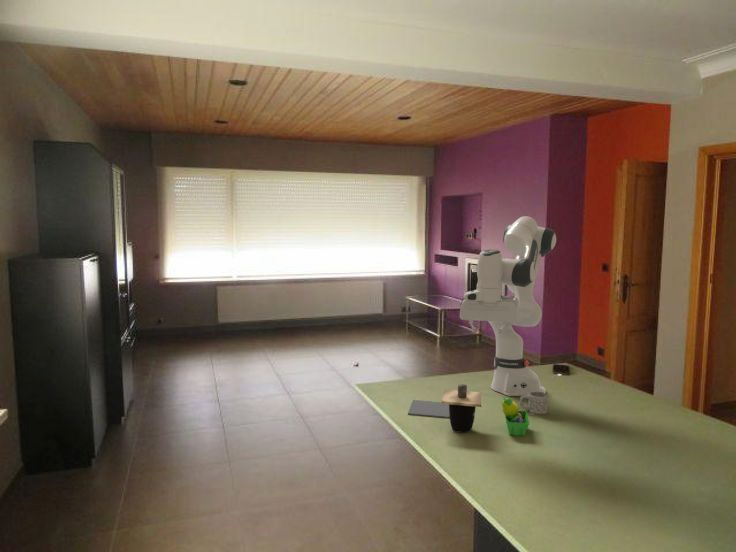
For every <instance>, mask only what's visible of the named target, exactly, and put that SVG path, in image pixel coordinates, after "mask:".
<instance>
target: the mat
mask: <svg viewBox="0 0 736 552" xmlns="http://www.w3.org/2000/svg"><path fill="white" fill-rule="evenodd" d="M407 415H410V416H419V417H421V416H422V417H423V416H424V417H430V418H431V417H433V418H443V419H450V415H449V404H442V401H430V400H420V399H417V400H416V399H412V402H411V404H410V407H409V409H408V411H407Z"/></svg>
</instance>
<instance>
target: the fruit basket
mask: <svg viewBox="0 0 736 552" xmlns="http://www.w3.org/2000/svg"><path fill="white" fill-rule="evenodd" d="M501 402H502V403H501V405H502V412H503V415H504V416H505V423H506V426H507V427H506V428H507V430H508V435H509V436H511V435H512V436H521V437H525V436H526V433H527V430H528V427H529V426H530V419H529V414H528V412H527V411H525V410H520V406H519V404H517V403H516V402H514V401H513V400H512V399H511V398H509V397H504V398H503V400H502V401H501Z"/></svg>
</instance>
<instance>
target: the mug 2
mask: <svg viewBox="0 0 736 552" xmlns="http://www.w3.org/2000/svg"><path fill="white" fill-rule="evenodd" d="M519 397H520V398H519V408H521V409H524V410H527V411H528V412H529V413H531V414H534V415H546V414H547V410H548V394H547V393H546V394H545V393H543V392H536V391H534V392H529V395H526V396H519ZM524 399H527V400H528V402H527V403H528V405H523V401H524Z"/></svg>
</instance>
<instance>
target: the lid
mask: <svg viewBox="0 0 736 552" xmlns="http://www.w3.org/2000/svg"><path fill="white" fill-rule="evenodd" d="M441 402H442V404H452V405H464V406H475V407H476V408H477V407H478V408H482V392H481V391H479V392H478V391H471V390H468V385H467V384H466V383H465V384H464V383H459V384H458V385H457V390H456V389H443V395H442V397H441Z"/></svg>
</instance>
